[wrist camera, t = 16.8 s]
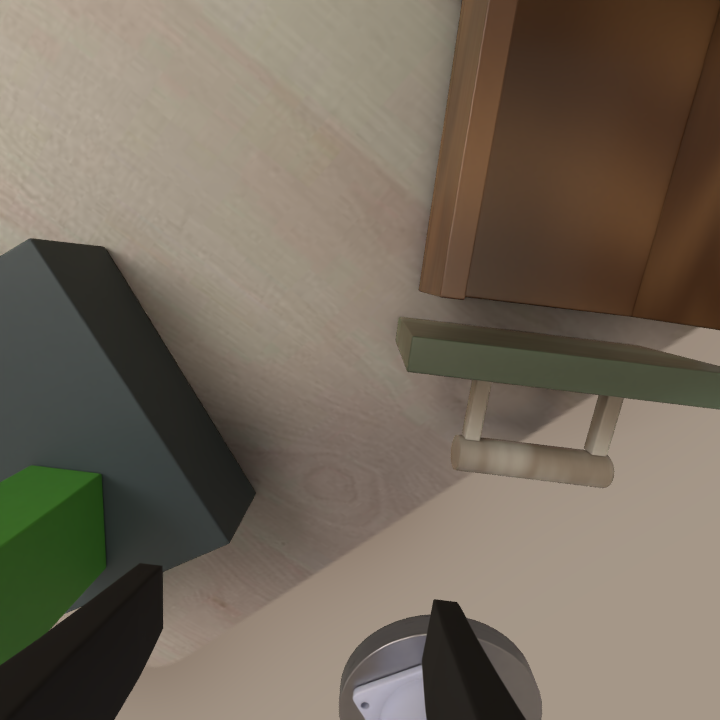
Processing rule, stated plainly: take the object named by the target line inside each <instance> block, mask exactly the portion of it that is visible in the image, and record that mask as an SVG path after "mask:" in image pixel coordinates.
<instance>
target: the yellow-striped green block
mask: <svg viewBox="0 0 720 720" xmlns="http://www.w3.org/2000/svg"><path fill="white" fill-rule="evenodd" d="M105 569H106V550H105V530H104V510H103V490H102V475H101V474H99V473H91V472H83V471H75V470H67V469H58V468H50V467H42V466H34V465H31V466H29V467H27V468H25V469H23V470H22V471H20V472H18V473H16V474H14V475H13V476H11V477H9V478H7V479H5V480H3V481H2V482H0V665H1V664H3V663H4V662H6V661H7V660H8V659H10V658H11V657H13V656H14V655H16V654H17V653H19V652H20V651H21V650H23V649H24V648H26V647H27V646H29V645H30V644H32V643H33V642H34V641H36V640H37V639H38V638H40V637H41V636H43V635H44V634H45V633H47V632H48V631H49V630H50V629H51V628H52V627H53V626H54V624H55V623H56V622H57V621H58V620H59V619H60V618H61V617H62V616H63V615H64V614H65V612H66V611H67V610H68V609H69V608H70V607H71V606H72V605H73V604H74V603H75V601H76V600H77V599H78V598H79V597H80V596H81V595H82V594H83V593H84V592H85V591H86V589H87V588H88V587H89V586H90V585H91V584H92V583H93V582H94V581H95V580H96V579H97V577H98V576H99V575H100V574H101V573H102V572H103V571H104V570H105Z"/></svg>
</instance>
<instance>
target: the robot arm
mask: <svg viewBox="0 0 720 720" xmlns="http://www.w3.org/2000/svg"><path fill="white" fill-rule="evenodd" d="M162 629H163V566H160V565H152V564H144V563H139V564H138V565H136V566H135V567H134V568H132V569H131V570H130V571H128V572H127V573H126V574H124V575H123V576H122V577H120V578H119V579H118V580H116V581H115V582H114V583H112V584H111V585H110V586H108V587H107V588H106V589H104V590H103V591H102V592H101V593H99V594H98V595H97V596H95V597H94V598H93V599H91V600H90V601H89V602H87V603H86V604H85V605H83V606H82V607H81V608H79V609H78V610H77V611H75V612H74V613H73V614H71V615H70V616H68V617H67V618H66V619H64V620H63V621H62V622H60V623H59V624H58V625H56V626H55V627H54V628H52V629H51V630H49V631H48V632H47V633H45V634H44V635H43V636H41V637H40V638H38V639H37V640H36V641H34V642H33V643H32V644H30V645H29V646H27V647H26V648H24V649H23V650H21V651H20V652H19V653H17V654H16V655H14V656H13V657H11V658H10V659H8V660H7V661H6V662H4V663H3V664H1V665H0V720H114V719H115V717H116V716H117V714H118V712H119V711H120V709H121V707H122V706H123V704H124V702H125V700H126V699H127V697H128V696H129V694H130V692H131V691H132V689H133V687H134V686H135V684H136V682H137V680H138V679H139V677H140V675H141V673H142V671H143V669H144V667H145V665H146V663H147V661H148V659H149V657H150V655H151V653H152V651H153V649H154V647H155V644H156V642H157V640H158V638H159V636H160V634H161V632H162ZM353 701H354V703H355V704H356V706H357V707H358V709H359V711H360V712H361V714H362V715H363V717H364V718H365V720H526V718H525V717H524V715H523V714H522V712H521V711H520V709H519V707H518V706H517V704H516V703H515V701H514V699H513V698H512V696H511V695H510V693H509V691H508V690H507V688H506V686H505V685H504V683H503V681H502V680H501V678H500V677H499V675H498V673H497V672H496V670H495V668H494V666H493V665H492V663H491V661H490V660H489V658H488V656H487V654H486V653H485V651H484V649H483V647H482V646H481V644H480V642H479V640H478V639H477V637H476V635H475V633H474V631H473V630H472V628H471V626H470V624H469V622H468V620H467V618H466V617H465V615H464V613H463V611H462V609H461V607H460V606H459V604H458V603H457V602H451V601H443V600H433V605H432V611H431V616H430V621H429V626H428V631H427V636H426V641H425V646H424V651H423V656H422V665H419V666H416V667H413V668H410V669H407V670H405V671H402V672H399V673H396V674H393V675H390V676H387V677H385V678H382V679H379V680H376V681H373V682H370V683H367V684H364V685H362V686H359V687H357V688H355V689H354V691H353Z"/></svg>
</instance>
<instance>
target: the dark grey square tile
mask: <svg viewBox="0 0 720 720" xmlns="http://www.w3.org/2000/svg"><path fill="white" fill-rule="evenodd" d="M31 465H34V466H42V467H50V468H58V469H67V470H75V471H83V472H91V473H99V474H101V475H102V490H103V510H104V530H105V550H106V569H105V570H104V571H103V572H102V573H101V574H100V575H99V576H98V577H97V579H96V580H95V581H94V582H93V583H92V584H91V585H90V586H89V587H88V588H87V589H86V591H85V592H84V593H83V594H82V595H81V596H80V597H79V598H78V599H77V600H76V601H75V603H74V604H73V605H72V606H71V607H70V608H69V609H68V610H67V611H66V612H65V613H68V612H70V611H72V610H75V609H77V608H79V607H82V606H83V605H85V604H86V603H87V602H89V601H90V600H91V599H93V598H94V597H95V596H97V595H98V594H99V593H101V592H102V591H103V590H104V589H106V588H107V587H108V586H110V585H111V584H112V583H114V582H115V581H116V580H118V579H119V578H120V577H122V576H123V575H124V574H126V573H127V572H128V571H130V570H131V569H132V568H134V567H135V566H136V565H138V564H139V563H144V564H152V565H160V566H163V572H164V571H166V570H168V569H171V568H173V567H175V566H178V565H180V564H182V563H185V562H187V561H189V560H192V559H194V558H197V557H199V556H201V555H204V554H206V553H208V552H211V551H213V550H215V549H218V548H220V547H222V546H225V545H227V544H229V543H230V541H231V539H232V538H233V536H234V534H235V532H236V530H237V528H238V526H239V525H240V523H241V521H242V519H243V517H244V515H245V513H246V511H247V510H248V508H249V506H250V504H251V502H252V500H253V498H254V496H255V495H256V493H255V491H254V489H253V488H252V486H251V484H250V483H249V481H248V480H247V478H246V476H245V475H244V473H243V471H242V470H241V468H240V467H239V465H238V463H237V462H236V460H235V458H234V457H233V455H232V454H231V452H230V450H229V449H228V447H227V445H226V444H225V442H224V441H223V439H222V437H221V436H220V434H219V432H218V431H217V429H216V428H215V426H214V424H213V423H212V421H211V419H210V418H209V416H208V415H207V413H206V411H205V410H204V408H203V406H202V405H201V403H200V402H199V400H198V398H197V397H196V395H195V393H194V392H193V390H192V389H191V387H190V385H189V384H188V382H187V380H186V379H185V377H184V376H183V374H182V372H181V371H180V369H179V367H178V366H177V364H176V363H175V361H174V359H173V358H172V356H171V354H170V353H169V351H168V350H167V348H166V346H165V345H164V343H163V341H162V340H161V338H160V337H159V335H158V333H157V332H156V330H155V328H154V327H153V325H152V324H151V322H150V320H149V319H148V317H147V315H146V314H145V312H144V311H143V309H142V307H141V306H140V304H139V302H138V301H137V299H136V298H135V296H134V294H133V293H132V291H131V289H130V288H129V286H128V285H127V283H126V281H125V280H124V278H123V276H122V275H121V273H120V272H119V270H118V268H117V267H116V265H115V263H114V262H113V260H112V259H111V257H110V255H109V254H108V252H107V250H106V249H105V247H102V246H93V245H84V244H76V243H67V242H58V241H49V240H41V239H32V238H31V239H28V240H26V241H25V242H23V243H21V244H20V245H18V246H16V247H15V248H13V249H11V250H10V251H8V252H6V253H5V254H3V255H1V256H0V482H2V481H3V480H5V479H7V478H9V477H11V476H13V475H14V474H16V473H18V472H20V471H22V470H23V469H25V468H27V467H29V466H31Z"/></svg>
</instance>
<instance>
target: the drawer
mask: <svg viewBox="0 0 720 720" xmlns="http://www.w3.org/2000/svg"><path fill="white" fill-rule="evenodd" d="M419 291H421V292H425V293H428V294H432V295H435V296H439V297H444V298H452V299H460V300H464V299H465V297H470V298H479V299H487V300H496V301H504V302H512V303H521V304H529V305H537V306H546V307H554V308H562V309H571V310H579V311H588V312H596V313H604V314H613V315H621V316H629V317H636V318H643V319H650V320H656V321H663V322H669V323H676V324H683V325H689V326H696V327H702V328H709V329H716V330H720V0H462V6H461V13H460V20H459V26H458V33H457V40H456V46H455V53H454V59H453V66H452V73H451V79H450V86H449V93H448V99H447V106H446V113H445V119H444V126H443V133H442V139H441V146H440V153H439V159H438V166H437V172H436V179H435V186H434V192H433V199H432V206H431V212H430V219H429V226H428V232H427V239H426V246H425V252H424V259H423V266H422V272H421V279H420V285H419ZM396 343H397V346H398V348H399V351H400V354H401V356H402V359H403V361H404V364H405V367H406V369H407V371H408V372H413V373H421V374H430V375H438V376H446V377H454V378H463V379H471V380H472V384H471V389H470V394H469V399H468V405H467V410H466V415H465V420H464V425H463V430H462V434H463V435H456V436H455V437H454V439H453V442H452V447H451V463H452V467H453V469H455V470H459V471H467V472H475V473H483V474H492V475H500V476H508V477H517V478H525V479H534V480H541V481H550V482H558V483H566V484H574V485H583V486H590V487H599V488H606V487H608V486H609V485H610V484H611V483H612V481H613V478H614V467H613V463H612V461H611V459H610V457H609V456H608V455H607V453H608V450H609V446H610V443H611V440H612V436H613V433H614V430H615V426H616V423H617V420H618V416H619V413H620V409H621V406H622V403H623V399H624V398H629V399H638V400H645V401H654V402H662V403H670V404H679V405H688V406H695V407H703V408H712V409H720V366H716V365H712V364H709V363H705V362H701V361H697V360H693V359H689V358H685V357H681V356H677V355H673V354H670V353H666V352H662V351H658V350H654V349H650V348H646V347H642V346H638V345H630V344H622V343H613V342H605V341H597V340H588V339H580V338H572V337H563V336H555V335H547V334H538V333H530V332H522V331H513V330H505V329H497V328H488V327H480V326H472V325H463V324H455V323H447V322H438V321H430V320H422V319H413V318H405V317H399V320H398V327H397V334H396ZM492 382H496V383H504V384H512V385H521V386H529V387H537V388H546V389H554V390H562V391H571V392H579V393H587V394H595V395H599V396H598V400H597V403H596V407H595V410H594V414H593V417H592V421H591V425H590V428H589V432H588V435H587V439H586V442H585V446H584V449H585V450H580V449H572V448H564V447H555V446H547V445H539V444H531V443H522V442H514V441H506V440H498V439H489V438H481V433H482V428H483V423H484V418H485V413H486V408H487V404H488V399H489V394H490V389H491V384H492Z"/></svg>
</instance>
